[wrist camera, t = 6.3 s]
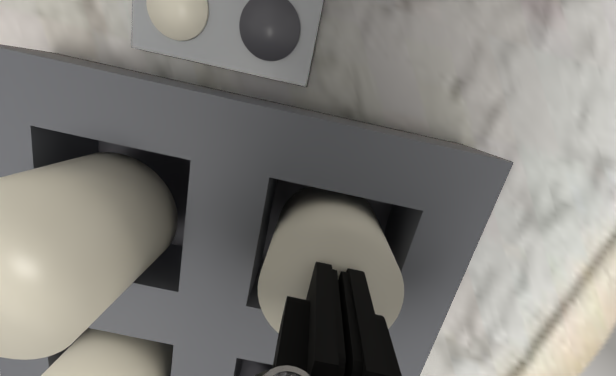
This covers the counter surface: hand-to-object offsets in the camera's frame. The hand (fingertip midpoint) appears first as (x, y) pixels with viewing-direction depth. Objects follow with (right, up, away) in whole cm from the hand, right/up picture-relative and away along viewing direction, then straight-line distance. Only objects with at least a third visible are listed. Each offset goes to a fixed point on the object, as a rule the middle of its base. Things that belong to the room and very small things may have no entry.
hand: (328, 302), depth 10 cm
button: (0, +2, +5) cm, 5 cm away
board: (-5, -1, +7) cm, 9 cm away
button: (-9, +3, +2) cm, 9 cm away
